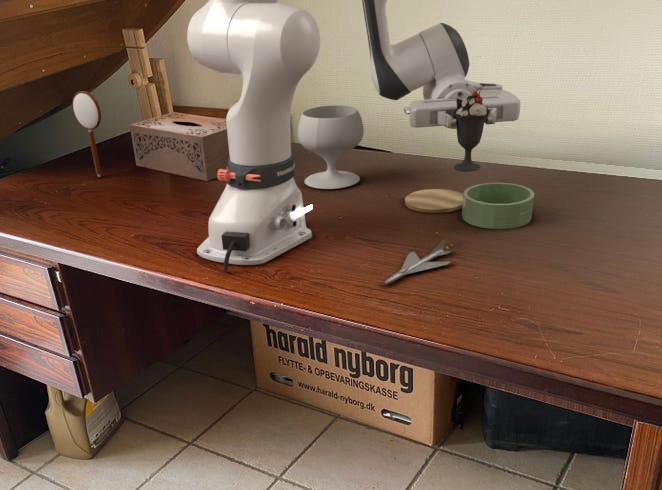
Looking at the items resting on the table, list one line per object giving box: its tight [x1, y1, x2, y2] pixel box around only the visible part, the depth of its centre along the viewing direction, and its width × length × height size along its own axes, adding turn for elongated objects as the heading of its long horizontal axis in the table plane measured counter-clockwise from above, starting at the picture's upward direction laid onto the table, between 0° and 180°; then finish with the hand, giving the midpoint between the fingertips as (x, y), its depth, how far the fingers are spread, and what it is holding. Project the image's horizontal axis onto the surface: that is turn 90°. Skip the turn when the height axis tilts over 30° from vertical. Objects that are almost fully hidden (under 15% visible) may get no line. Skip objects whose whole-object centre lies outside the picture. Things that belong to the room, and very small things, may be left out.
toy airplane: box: [383, 238, 458, 286], centre depth 118 cm, size 8×21×2 cm, turn 135°
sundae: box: [452, 84, 490, 173], centre depth 131 cm, size 7×7×15 cm
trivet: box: [404, 188, 463, 214], centre depth 143 cm, size 12×12×1 cm
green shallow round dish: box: [461, 182, 535, 230], centre depth 133 cm, size 12×13×4 cm
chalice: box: [297, 104, 365, 190], centre depth 155 cm, size 14×14×15 cm
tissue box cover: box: [129, 111, 230, 182], centre depth 175 cm, size 26×14×10 cm, turn 48°
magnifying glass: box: [71, 90, 102, 178], centre depth 170 cm, size 9×2×20 cm, turn 57°
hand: (472, 121), depth 129 cm, fingers closed on sundae, 5 cm apart
